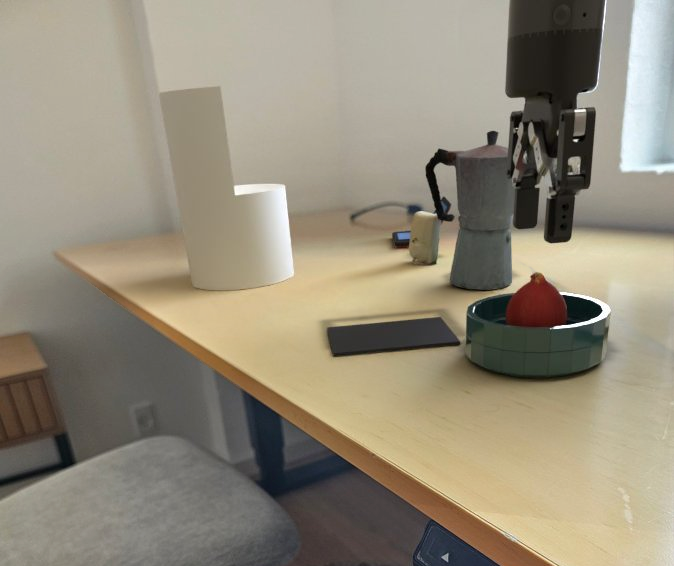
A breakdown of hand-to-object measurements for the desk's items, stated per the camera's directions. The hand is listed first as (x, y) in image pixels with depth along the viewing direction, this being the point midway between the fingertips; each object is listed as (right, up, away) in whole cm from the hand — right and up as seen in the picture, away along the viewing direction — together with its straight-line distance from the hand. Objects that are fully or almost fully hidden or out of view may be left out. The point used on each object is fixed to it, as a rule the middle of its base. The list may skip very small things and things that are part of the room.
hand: (539, 234), depth 61 cm
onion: (+1, -10, +5) cm, 12 cm away
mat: (-13, -7, +15) cm, 21 cm away
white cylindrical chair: (-35, +9, +50) cm, 61 cm away
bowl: (+1, -11, +5) cm, 12 cm away
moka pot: (+1, +4, +34) cm, 34 cm away
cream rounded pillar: (-4, +11, +50) cm, 51 cm away
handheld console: (-2, +21, +68) cm, 71 cm away
